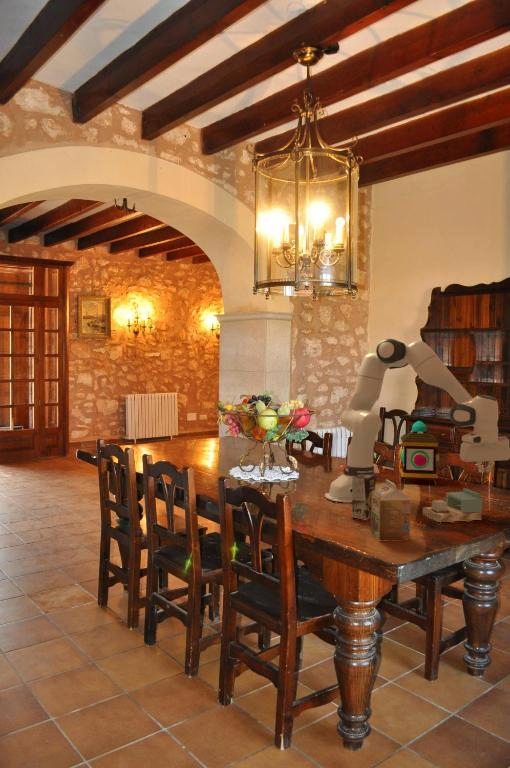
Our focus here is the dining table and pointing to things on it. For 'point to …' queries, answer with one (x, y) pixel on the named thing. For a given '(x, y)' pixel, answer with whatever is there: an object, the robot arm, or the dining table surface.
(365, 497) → the coffee box
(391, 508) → the milk carton
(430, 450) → the decorative lantern
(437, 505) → the jaw block
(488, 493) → the dining table surface
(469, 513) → the housing base
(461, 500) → the cover
